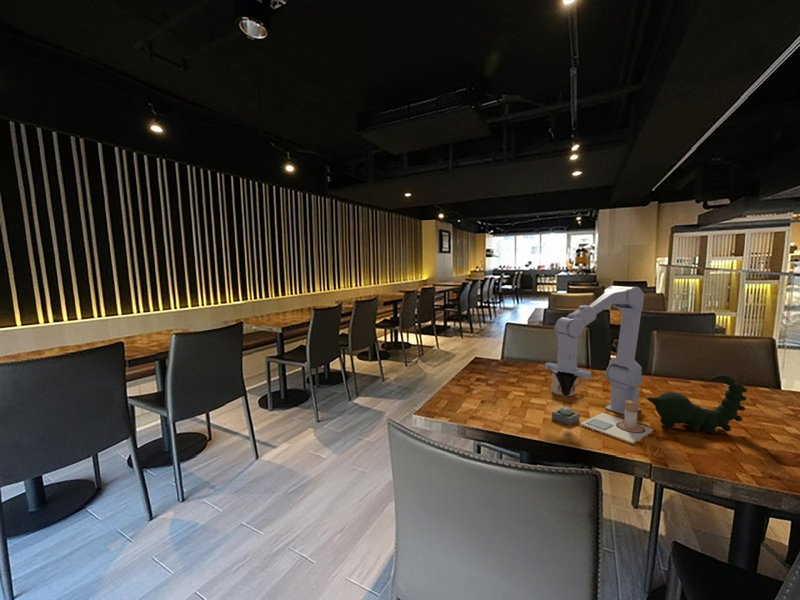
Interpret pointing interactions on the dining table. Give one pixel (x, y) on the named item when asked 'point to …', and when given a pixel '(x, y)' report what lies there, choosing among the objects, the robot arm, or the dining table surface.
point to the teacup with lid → (557, 388)
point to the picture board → (615, 427)
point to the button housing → (565, 417)
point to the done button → (565, 411)
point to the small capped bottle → (631, 414)
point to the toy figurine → (683, 411)
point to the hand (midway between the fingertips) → (566, 394)
